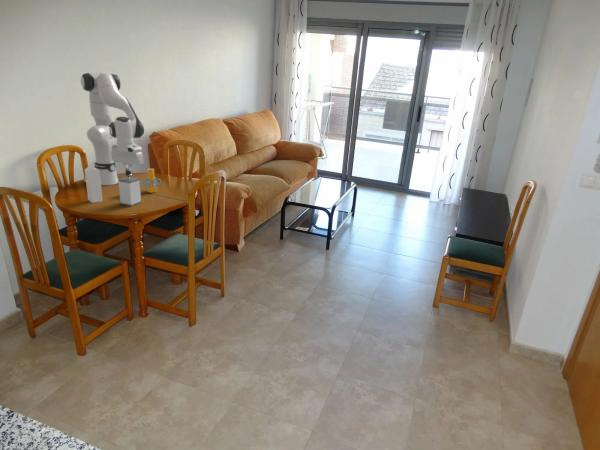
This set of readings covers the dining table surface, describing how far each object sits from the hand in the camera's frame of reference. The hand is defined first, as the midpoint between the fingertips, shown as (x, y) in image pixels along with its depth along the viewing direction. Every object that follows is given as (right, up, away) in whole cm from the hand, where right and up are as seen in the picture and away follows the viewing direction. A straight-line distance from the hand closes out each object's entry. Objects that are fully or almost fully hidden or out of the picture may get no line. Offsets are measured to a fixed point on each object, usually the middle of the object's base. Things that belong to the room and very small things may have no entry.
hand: (128, 170), depth 238 cm
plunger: (-1, -18, +7) cm, 19 cm away
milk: (-23, -17, +7) cm, 29 cm away
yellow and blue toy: (+3, -10, +31) cm, 33 cm away
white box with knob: (-1, -18, +9) cm, 20 cm away
